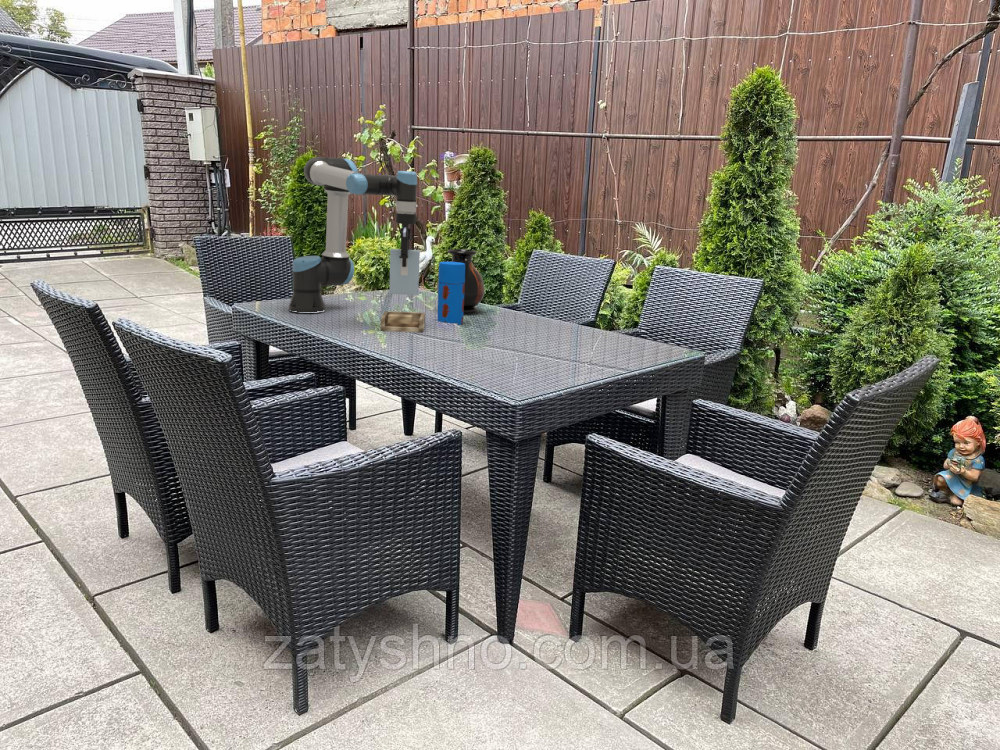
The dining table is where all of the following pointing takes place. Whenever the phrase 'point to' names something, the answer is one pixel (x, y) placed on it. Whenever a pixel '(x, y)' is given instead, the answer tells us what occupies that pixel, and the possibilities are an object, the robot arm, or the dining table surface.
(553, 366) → the dining table surface
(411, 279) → the pale blue block
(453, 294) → the thermos
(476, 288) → the amphora vase
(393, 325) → the offcut
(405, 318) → the offcut
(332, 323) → the dining table surface
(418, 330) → the box
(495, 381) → the dining table surface
